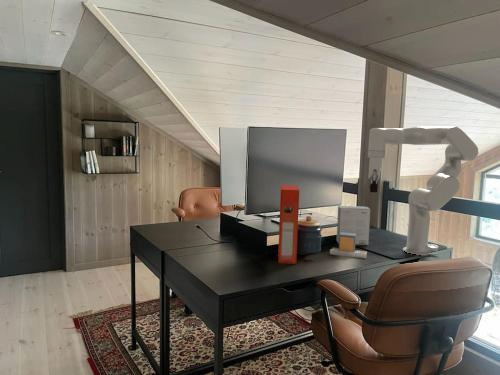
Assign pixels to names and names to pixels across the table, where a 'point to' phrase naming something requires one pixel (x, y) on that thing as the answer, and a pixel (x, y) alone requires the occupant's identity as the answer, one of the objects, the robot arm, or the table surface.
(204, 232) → the table surface
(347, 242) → the carton
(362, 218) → the hard drive box
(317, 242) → the canister
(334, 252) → the shelf board
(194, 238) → the table surface
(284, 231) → the file binder
